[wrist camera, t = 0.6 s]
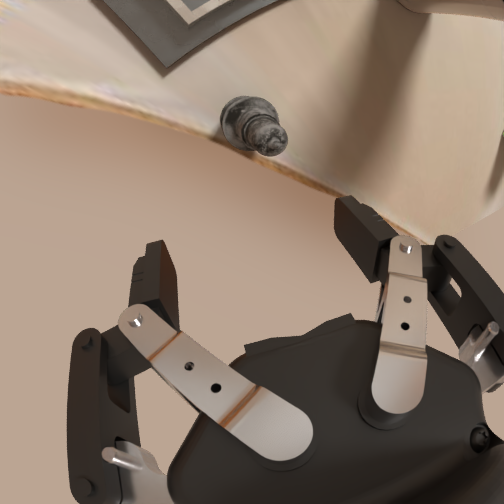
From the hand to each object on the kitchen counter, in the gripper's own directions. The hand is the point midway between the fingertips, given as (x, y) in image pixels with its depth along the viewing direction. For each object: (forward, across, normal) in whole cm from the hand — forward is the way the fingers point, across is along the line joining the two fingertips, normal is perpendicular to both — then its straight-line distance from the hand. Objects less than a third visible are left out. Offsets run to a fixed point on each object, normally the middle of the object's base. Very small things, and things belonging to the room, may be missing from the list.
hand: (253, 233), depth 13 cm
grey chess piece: (+22, -4, 0) cm, 22 cm away
